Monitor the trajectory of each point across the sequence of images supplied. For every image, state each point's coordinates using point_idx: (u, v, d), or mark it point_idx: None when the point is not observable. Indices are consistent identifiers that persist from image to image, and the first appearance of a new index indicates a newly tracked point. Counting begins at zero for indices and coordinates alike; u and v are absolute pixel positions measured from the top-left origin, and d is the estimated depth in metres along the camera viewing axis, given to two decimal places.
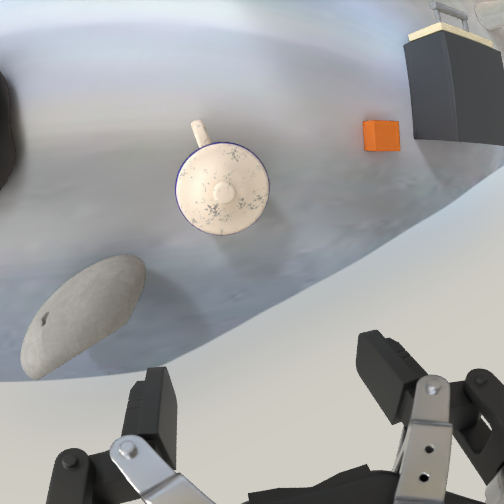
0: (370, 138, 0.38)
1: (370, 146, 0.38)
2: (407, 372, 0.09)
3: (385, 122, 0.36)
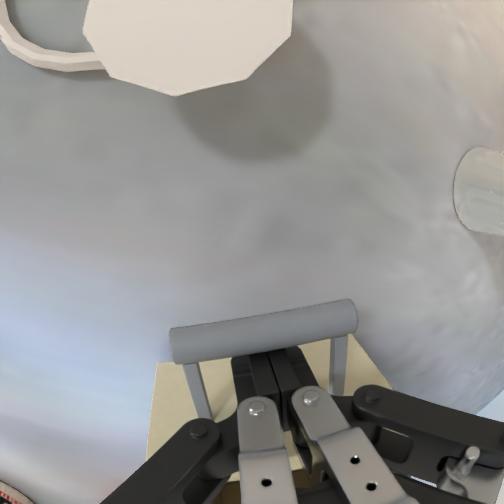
0: None
1: None
2: (290, 380, 0.10)
3: None
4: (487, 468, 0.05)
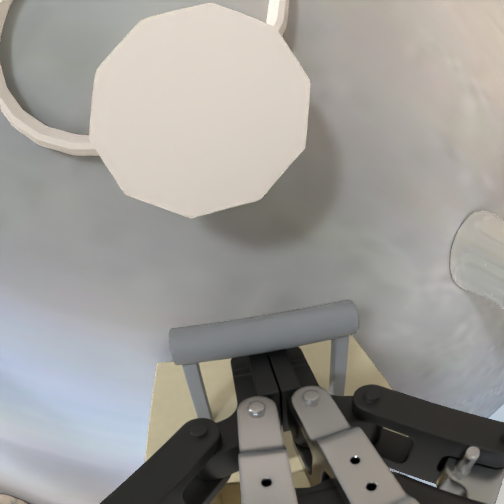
0: None
1: None
2: (290, 380, 0.10)
3: None
4: (487, 468, 0.05)
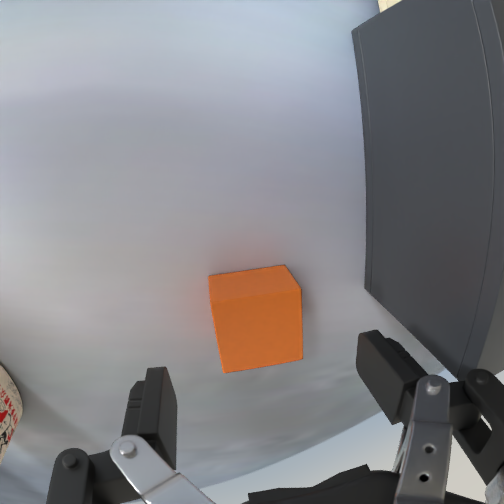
0: None
1: None
2: (407, 372, 0.09)
3: (253, 301, 0.14)
4: None
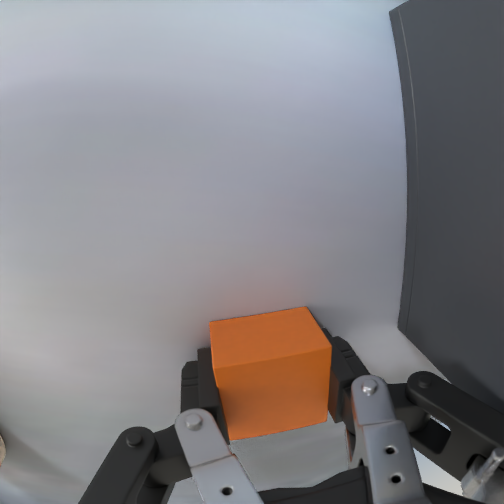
0: None
1: None
2: (345, 371, 0.10)
3: (270, 364, 0.10)
4: None
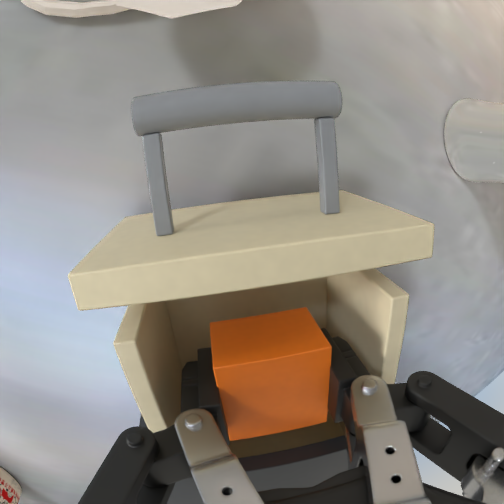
0: None
1: None
2: (345, 371, 0.10)
3: (270, 364, 0.10)
4: None
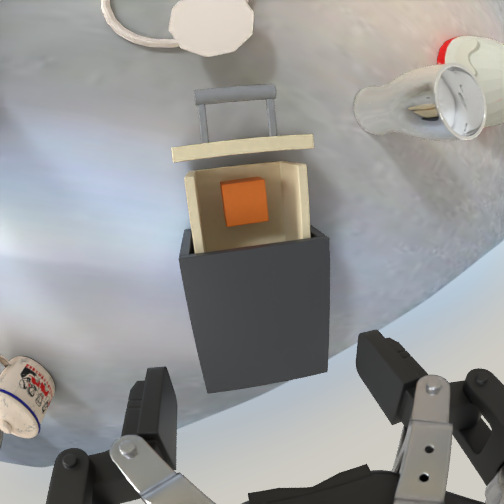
0: (223, 207, 0.30)
1: (225, 218, 0.31)
2: (407, 372, 0.09)
3: (241, 184, 0.29)
4: None
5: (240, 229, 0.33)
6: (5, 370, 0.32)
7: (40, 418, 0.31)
